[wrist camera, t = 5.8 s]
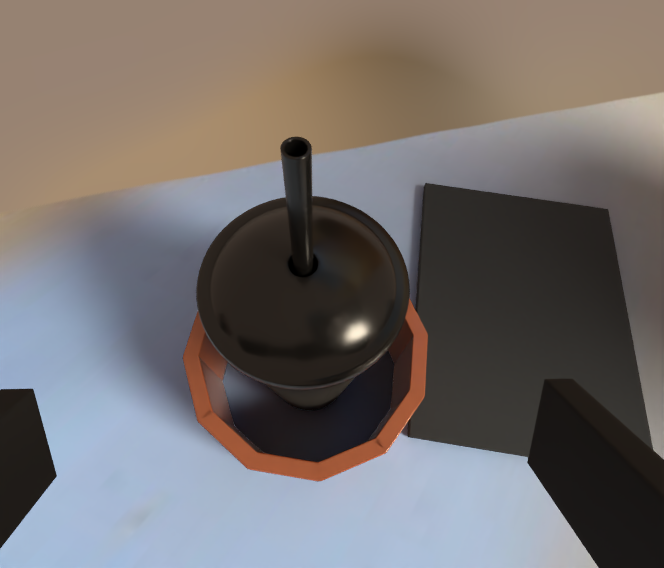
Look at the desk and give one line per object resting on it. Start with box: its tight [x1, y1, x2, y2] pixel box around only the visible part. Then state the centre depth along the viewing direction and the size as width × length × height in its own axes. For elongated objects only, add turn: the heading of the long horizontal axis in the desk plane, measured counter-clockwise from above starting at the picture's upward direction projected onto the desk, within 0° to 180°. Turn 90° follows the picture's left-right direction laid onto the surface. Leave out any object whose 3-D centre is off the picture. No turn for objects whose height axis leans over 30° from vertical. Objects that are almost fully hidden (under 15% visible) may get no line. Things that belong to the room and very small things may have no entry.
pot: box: [183, 299, 428, 481], centre depth 24 cm, size 13×13×6 cm
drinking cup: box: [196, 137, 410, 410], centre depth 18 cm, size 8×8×20 cm
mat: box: [407, 183, 653, 457], centre depth 29 cm, size 15×20×1 cm
